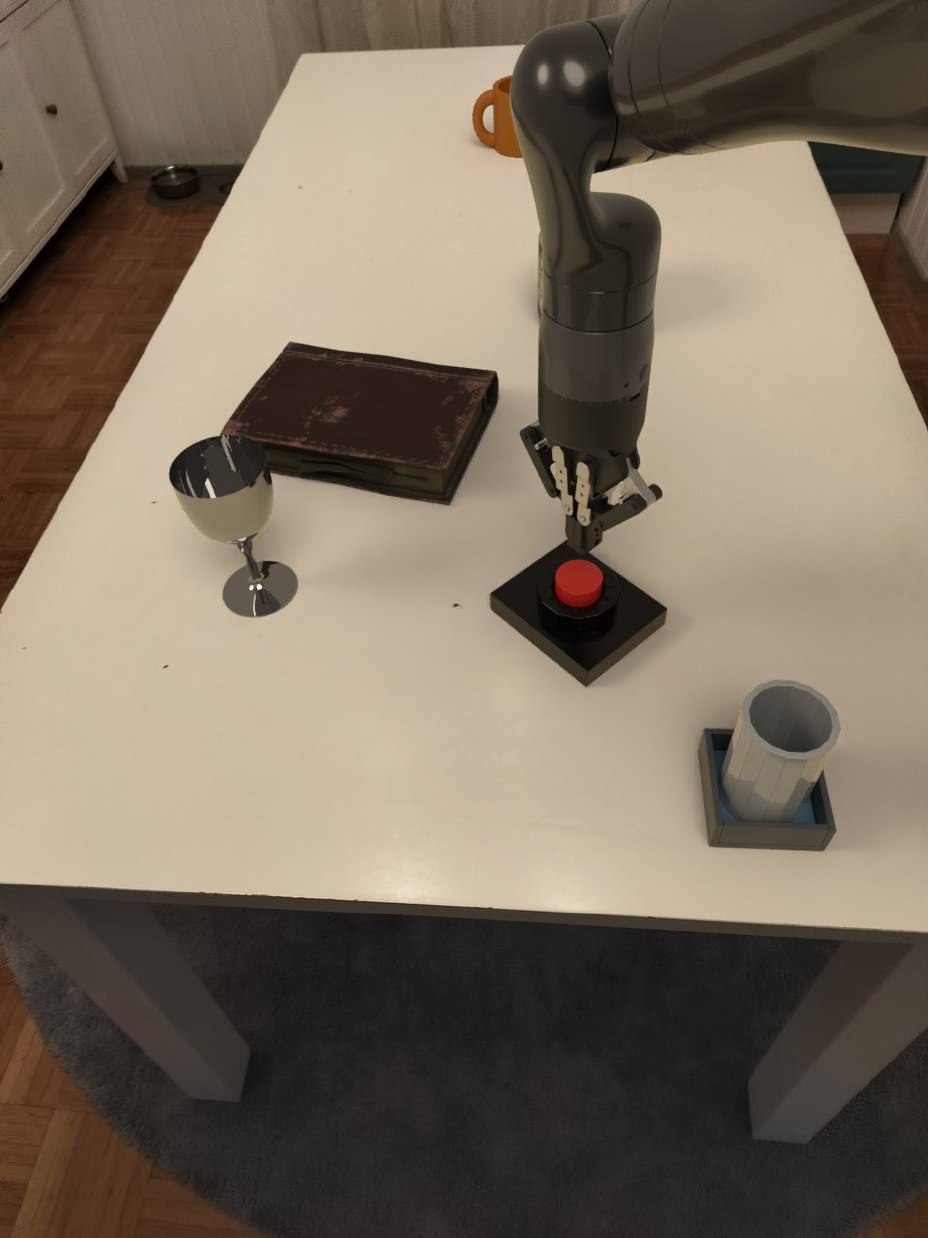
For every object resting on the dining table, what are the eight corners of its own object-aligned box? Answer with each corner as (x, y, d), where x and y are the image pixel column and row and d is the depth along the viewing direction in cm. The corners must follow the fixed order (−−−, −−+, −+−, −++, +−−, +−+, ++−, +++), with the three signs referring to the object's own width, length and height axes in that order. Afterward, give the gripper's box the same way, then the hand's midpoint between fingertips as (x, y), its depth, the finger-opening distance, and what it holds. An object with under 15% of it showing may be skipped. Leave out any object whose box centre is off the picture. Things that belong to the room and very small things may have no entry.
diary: (299, 372, 106) (291, 334, 102) (499, 402, 100) (498, 363, 96) (226, 471, 95) (214, 434, 91) (446, 512, 89) (443, 474, 85)
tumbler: (796, 758, 68) (831, 681, 60) (809, 832, 64) (847, 761, 56) (713, 754, 68) (737, 677, 61) (721, 827, 64) (747, 756, 57)
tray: (804, 753, 69) (814, 730, 66) (824, 851, 64) (836, 831, 61) (697, 750, 70) (703, 727, 67) (708, 847, 64) (716, 826, 62)
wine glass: (246, 634, 80) (199, 513, 68) (202, 587, 84) (150, 465, 72) (318, 589, 83) (284, 465, 71) (272, 545, 87) (233, 422, 75)
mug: (480, 132, 147) (478, 72, 140) (552, 134, 145) (553, 73, 138) (469, 156, 142) (466, 94, 135) (543, 158, 139) (544, 96, 133)
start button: (611, 590, 76) (612, 576, 75) (578, 615, 74) (579, 601, 73) (577, 566, 78) (578, 552, 77) (545, 589, 77) (545, 576, 75)
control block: (665, 624, 78) (670, 594, 75) (586, 687, 74) (588, 658, 71) (567, 554, 84) (569, 523, 81) (490, 609, 80) (488, 579, 77)
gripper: (486, 348, 61) (495, 528, 74) (630, 433, 54) (611, 614, 67) (563, 305, 64) (558, 485, 77) (709, 380, 57) (676, 564, 70)
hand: (583, 545), depth 72 cm, fingers closed
